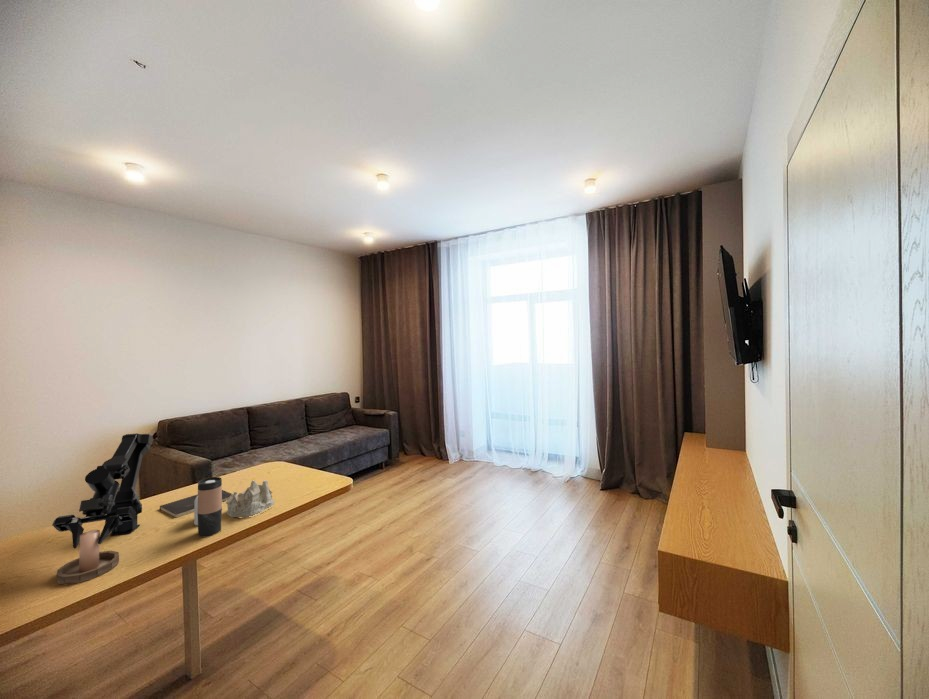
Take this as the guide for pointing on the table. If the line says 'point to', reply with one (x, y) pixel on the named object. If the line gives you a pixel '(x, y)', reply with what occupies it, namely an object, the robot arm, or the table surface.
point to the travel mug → (209, 506)
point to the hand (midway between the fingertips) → (86, 545)
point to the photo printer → (196, 511)
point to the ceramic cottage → (250, 500)
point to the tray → (72, 574)
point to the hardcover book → (186, 505)
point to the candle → (89, 551)
